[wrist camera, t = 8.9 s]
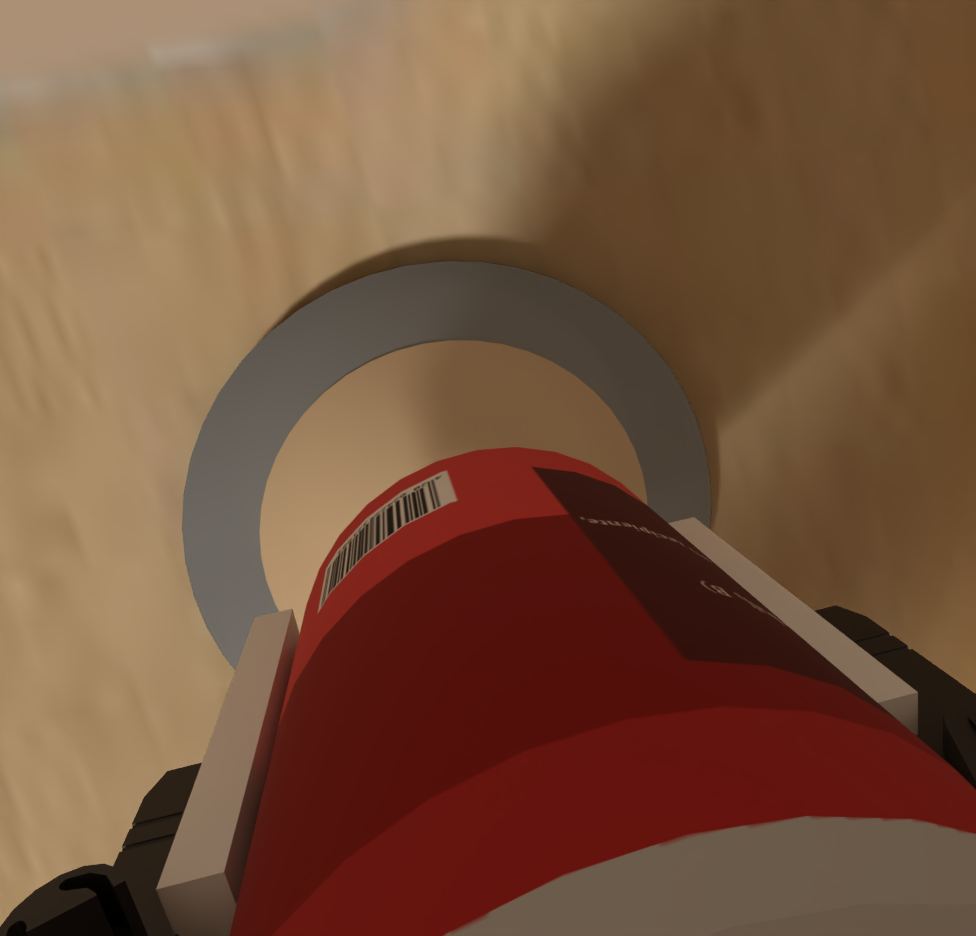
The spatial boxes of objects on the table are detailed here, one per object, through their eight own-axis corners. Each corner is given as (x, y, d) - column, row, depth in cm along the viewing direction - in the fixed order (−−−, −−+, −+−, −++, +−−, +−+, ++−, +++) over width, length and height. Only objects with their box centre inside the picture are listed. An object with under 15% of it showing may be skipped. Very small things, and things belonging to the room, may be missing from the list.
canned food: (282, 763, 15) (72, 1829, 5) (335, 404, 13) (177, 871, 3) (614, 786, 17) (1005, 1648, 6) (703, 465, 15) (1472, 924, 4)
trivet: (270, 797, 22) (266, 818, 21) (114, 320, 18) (101, 322, 17) (719, 683, 24) (732, 699, 23) (673, 215, 19) (687, 213, 19)
